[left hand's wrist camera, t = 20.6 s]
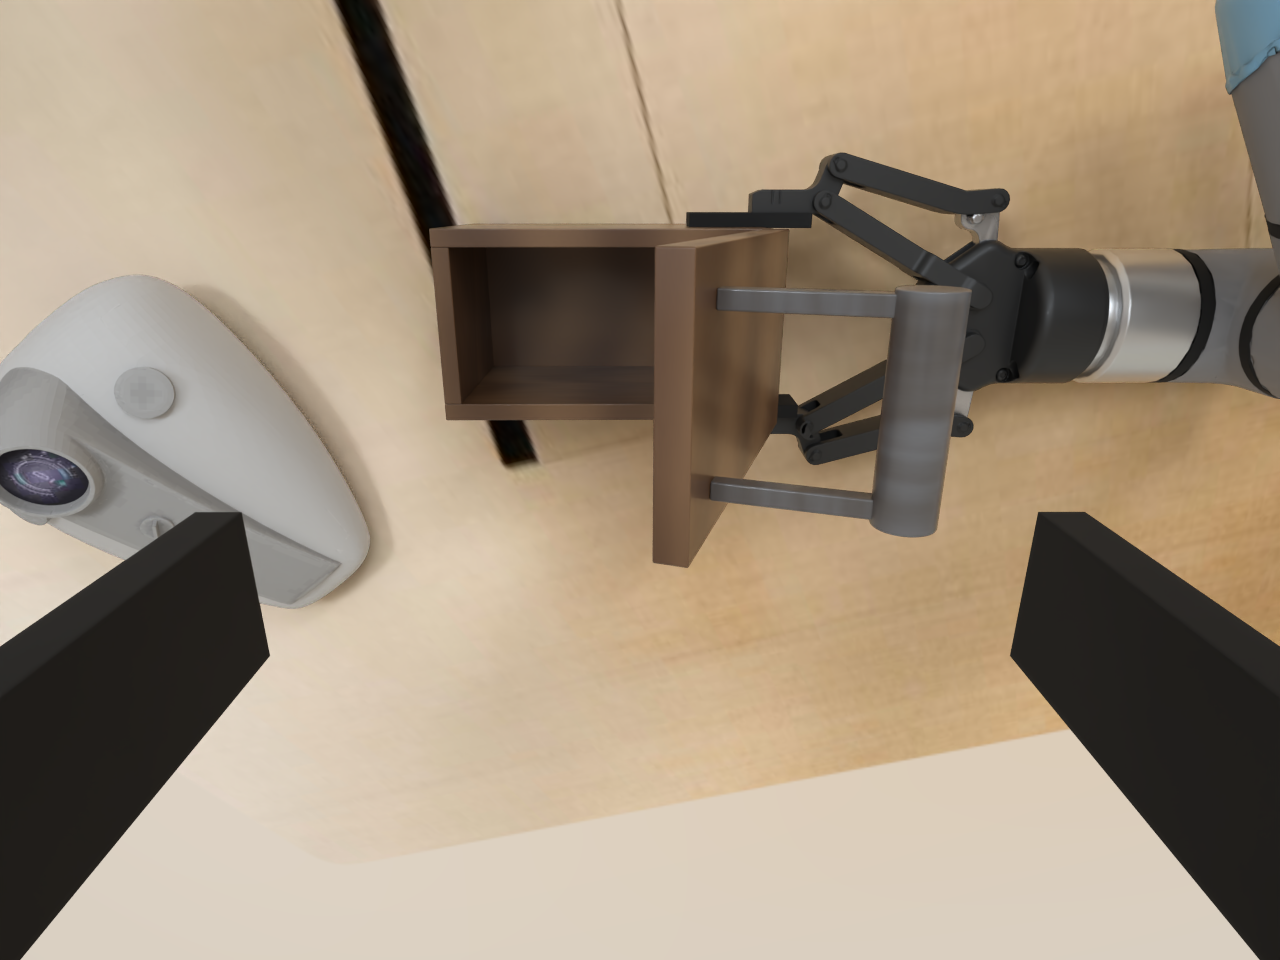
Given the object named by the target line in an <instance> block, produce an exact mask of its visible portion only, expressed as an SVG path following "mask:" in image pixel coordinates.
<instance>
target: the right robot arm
mask: <svg viewBox="0 0 1280 960" xmlns="http://www.w3.org/2000/svg"><path fill="white" fill-rule="evenodd" d="M1215 14H1216V20H1217V26H1218V33H1219V39H1220V45H1221V51H1222V57H1223V63H1224V70H1225V76H1226V85H1225V87H1226V89H1227V92H1228V94H1232V97H1233V101H1234V105H1235V108H1236V112H1237V115H1238V119H1239V122H1240V126H1241V130H1242V133H1243V137H1244V140H1245V144H1246V147H1247V151H1248V155H1249V158H1250V162H1251V165H1252V169H1253V172H1254V176H1255V180H1256V183H1257V187H1258V190H1259V194H1260V197H1261V201H1262V205H1263V208H1264V212H1265V218H1266V222H1267V226H1268V231H1269V235H1270V239H1271V243H1272V247H1273V248H1248V249H1206V250H1182V249H1157V248H1099V249H1092V250H1090V251H1086V250H1084V249H1080V248H1010V247H1008V246H1006V245H1004V244H1003V243H1001V242H1000V241H997V238H998V226H999V214H1000V212H1001V211H1003V210H1004V209H1006V207H1007V206H1008V205H1009V201H1010V196H1009V194H1008V192H1007V191H1006V190H1004V189H1000V188H998V189H978V190H966V191H965V190H962V189H959V188H956V187H953V186H949V185H946V184H943V183H940V182H937V181H933V180H930V179H927V178H924V177H921V176H917V175H914V174H911V173H908V172H904V171H901V170H898V169H895V168H892V167H888V166H885V165H882V164H879V163H876V162H872V161H869V160H866V159H863V158H859V157H856V156H853V155H850V154H847V153H837V154H833V155H829V156H827V157H825V158H824V159H822V161H821V163H820V166H819V171H818V174H817V176H816V179H815V181H814V183H813V184H812V185H811V186H810V187H809V188H807V189H805V190H757V191H755V192H753V193H750V194H749V204H748V212H687V215H686V226H688V227H766V228H811V224H812V214H813V215H815V216H817V217H818V218H820V219H821V220H823V221H825V222H826V223H828V224H829V225H831V226H833V227H834V228H836V229H837V230H839V231H841V232H842V233H844V234H846V235H847V236H849V237H850V238H852V239H854V240H855V241H857V242H858V243H860V244H862V245H863V246H865V247H866V248H868V249H870V250H871V251H873V252H874V253H876V254H878V255H879V256H881V257H883V258H884V259H886V260H887V261H889V262H891V263H892V264H894V265H895V266H897V267H898V268H899V269H901V270H902V271H903V272H905V273H907V274H908V275H910V276H911V277H913V278H915V279H916V280H918V282H917V283H916V285H936V286H952V287H961V288H967V289H970V290H972V295H971V302H970V309H969V315H968V322H967V329H966V336H965V343H964V349H963V356H962V363H961V370H960V376H959V383H958V390H957V397H956V404H955V410H954V417H953V424H952V431H951V437H966V436H968V435H969V434H970V433H971V432H972V430H973V422H972V421H971V420H970V419H969V418H967V417H968V412H969V408H970V404H971V399H972V395H973V391H976V390H978V389H980V388H982V387H984V386H987V385H989V384H993V383H1066V382H1069V381H1071V380H1073V381H1075V382H1078V383H1150V382H1186V383H1217V384H1226V385H1232V386H1237V387H1240V388H1244V389H1247V390H1250V391H1254V392H1257V393H1260V394H1263V395H1266V396H1270V397H1273V398H1277V399H1280V0H1216V4H1215ZM843 184H846V185H849V186H852V187H855V188H859V189H862V190H865V191H868V192H872V193H875V194H878V195H881V196H885V197H888V198H891V199H894V200H898V201H901V202H904V203H907V204H911V205H914V206H917V207H920V208H924V209H927V210H930V211H934V212H938V213H943V214H955V223H956V225H957V226H958V227H959V228H961V229H965V230H968V231H969V232H970V233H971V235H972V239H973V241H972V242H970V243H968V244H967V245H965V246H964V247H962V248H961V249H960V250H958V251H957V252H955V253H954V254H952V255H951V256H949V257H948V258H946V259H945V260H942V259H941V258H939V257H937V256H936V255H934V254H932V253H930V252H927V251H926V250H924V249H922V248H921V247H919V246H918V245H916V244H914V243H913V242H911V241H910V240H908V239H906V238H905V237H903V236H902V235H900V234H898V233H897V232H895V231H894V230H892V229H891V228H889V227H887V226H886V225H884V224H883V223H881V222H879V221H878V220H876V219H875V218H873V217H872V216H870V215H868V214H867V213H865V212H864V211H862V210H860V209H859V208H857V207H856V206H854V205H853V204H851V203H849V202H848V201H846V200H845V199H843V198H841V197H840V196H838V194H839V192H840V189H841V187H842V185H843ZM886 366H887V359H886V360H885V361H883V362H881V363H879V364H877V365H875V366H873V367H871V368H869V369H867V370H865V371H864V372H862V373H860V374H858V375H856V376H854V377H852V378H850V379H848V380H846V381H844V382H843V383H841V384H839V385H837V386H835V387H833V388H831V389H829V390H827V391H825V392H823V393H822V394H820V395H818V396H816V397H814V398H812V399H810V400H808V401H806V402H804V403H802V404H801V405H799V406H798V405H797V403H796V402H795V401H794V400H793V398H792V397H791V396H790V395H789V394H779V396H778V412H777V423H776V425H775V427H774V428H773V430H772V432H771V433H770V434H792V435H795V436H796V438H797V441H798V447H799V449H800V450H801V452H802V454H803V455H804V457H805V458H806V460H807V461H808V462H809V463H810V464H813V465H819V464H823V463H826V462H830V461H834V460H838V459H842V458H846V457H850V456H854V455H858V454H861V453H865V452H869V451H873V450H877V445H878V436H879V427H880V418H881V415H879V416H875V417H871V418H867V419H863V420H859V421H856V422H852V423H848V424H844V425H840V426H836V427H833V428H829V429H825V430H822V429H824V428H826V427H828V426H830V425H832V424H834V423H836V422H838V421H840V420H842V419H844V418H846V417H848V416H850V415H852V414H854V413H855V412H857V411H859V410H861V409H863V408H865V407H867V406H869V405H871V404H873V403H875V402H877V401H879V400H881V399H883V392H884V383H885V374H886Z"/></svg>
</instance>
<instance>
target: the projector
mask: <svg viewBox="0 0 1280 960" xmlns="http://www.w3.org/2000/svg"><path fill="white" fill-rule="evenodd" d="M0 504H2V505H3V506H5V507H7V508H9V509H10V510H11V511H12V512H14V513H15V514H16V515H17V516H19V517H20V518H22V519H24V520H26V521H28V522H30V523H32V524H36V525H44V524H46V523H48V524H50V525H51V526H53V527H55V528H57V529H58V530H60V531H62V532H64V533H66V534H68V535H70V536H72V537H74V538H76V539H78V540H80V541H82V542H84V543H87V544H89V545H91V546H93V547H95V548H97V549H100V550H102V551H104V552H107V553H109V554H111V555H114V556H116V557H119V558H121V559H124V560H126V559H128V558H129V557H131V556H132V555H134V554H135V553H137V552H138V551H139V550H141V549H142V548H144V547H145V546H147V545H148V544H150V543H151V542H153V541H154V540H155V539H157V538H158V537H160V536H161V535H163V534H164V533H166V532H167V531H168V530H170V529H171V528H173V527H174V526H176V525H177V524H179V523H180V522H181V521H183V520H184V519H186V518H187V517H189V516H190V515H192V514H193V513H195V512H242V516H243V521H244V526H245V531H246V536H247V542H248V547H249V552H250V557H251V562H252V567H253V572H254V577H255V582H256V587H257V592H258V598H259V603H261V604H266V605H270V606H275V607H280V608H288V609H296V608H301V607H304V606H307V605H310V604H312V603H314V602H316V601H317V600H319V599H321V598H322V597H324V596H325V595H327V594H328V593H330V592H331V591H332V590H334V589H335V588H336V587H338V586H339V585H340V584H341V583H343V582H344V581H345V580H346V579H347V578H349V577H350V576H351V575H352V574H353V573H354V572H355V571H356V570H357V569H358V568H359V567H360V565H361V564H362V563H363V561H364V560H365V558H366V556H367V553H368V550H369V546H370V534H369V530H368V527H367V524H366V522H365V519H364V517H363V514H362V512H361V510H360V508H359V506H358V504H357V502H356V500H355V498H354V495H353V494H352V492H351V490H350V488H349V486H348V484H347V483H346V481H345V479H344V477H343V475H342V474H341V472H340V470H339V469H338V467H337V465H336V464H335V462H334V460H333V459H332V457H331V455H330V454H329V452H328V450H327V449H326V447H325V446H324V444H323V443H322V441H321V440H320V438H319V437H318V435H317V434H316V432H315V431H314V430H313V428H312V427H311V425H310V424H309V422H308V421H307V420H306V418H305V417H304V416H303V414H302V413H301V412H300V410H299V409H298V408H297V406H296V405H295V404H294V402H293V401H292V400H291V399H290V397H289V396H288V395H287V393H286V392H285V391H284V390H283V389H282V387H281V386H280V385H279V384H278V383H277V381H276V380H275V379H274V378H273V377H272V375H271V374H270V373H269V372H268V371H267V370H266V368H265V367H264V366H263V365H262V364H261V363H260V362H259V361H258V359H257V358H256V357H255V356H254V355H253V354H252V353H251V352H250V351H249V349H248V348H247V347H246V346H245V345H244V344H243V343H242V342H241V341H240V340H239V339H238V338H237V337H236V336H235V335H234V334H233V333H232V332H231V331H230V330H229V329H228V328H227V327H226V326H225V325H224V324H223V323H222V322H221V321H220V320H219V319H218V318H217V317H216V316H215V315H214V314H213V313H211V312H210V311H209V310H208V309H207V308H206V307H205V306H203V305H202V304H201V303H200V302H198V301H197V300H196V299H195V298H193V297H192V296H191V295H189V294H188V293H187V292H185V291H183V290H182V289H180V288H179V287H177V286H175V285H173V284H171V283H169V282H167V281H165V280H162V279H159V278H156V277H152V276H147V275H128V276H121V277H117V278H113V279H109V280H106V281H103V282H100V283H98V284H95V285H93V286H91V287H89V288H87V289H85V290H83V291H82V292H80V293H78V294H77V295H75V296H74V297H72V298H71V299H69V300H68V301H67V302H65V303H64V304H63V305H61V306H60V307H59V308H57V309H56V310H55V311H54V312H53V313H51V314H50V315H49V316H48V317H47V318H45V319H44V320H43V321H42V322H41V323H40V324H39V325H38V326H36V327H35V328H34V329H33V330H32V331H31V332H30V333H29V334H28V335H27V336H26V337H25V339H24V340H23V341H22V342H20V343H19V344H18V345H17V346H16V347H15V348H14V349H13V350H12V352H11V353H9V354H8V355H7V357H6V358H5V359H4V360H3V361H2V362H1V364H0Z"/></svg>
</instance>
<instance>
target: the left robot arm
mask: <svg viewBox="0 0 1280 960" xmlns="http://www.w3.org/2000/svg"><path fill="white" fill-rule="evenodd" d="M269 656H270V654H269V649H268V643H267V638H266V633H265V628H264V623H263V618H262V613H261V608H260V603H259V598H258V592H257V587H256V582H255V577H254V572H253V567H252V562H251V557H250V552H249V547H248V542H247V536H246V531H245V526H244V521H243V516H242V512H195V513H193V514H192V515H190V516H189V517H187V518H186V519H184V520H183V521H181V522H180V523H179V524H177V525H176V526H174V527H173V528H171V529H170V530H168V531H167V532H166V533H164V534H163V535H161V536H160V537H158V538H157V539H155V540H154V541H153V542H151V543H150V544H148V545H147V546H145V547H144V548H142V549H141V550H139V551H138V552H137V553H135V554H134V555H132V556H131V557H129V558H128V559H126V560H125V561H124V562H122V563H121V564H119V565H118V566H116V567H115V568H113V569H112V570H110V571H109V572H108V573H106V574H105V575H103V576H102V577H100V578H99V579H97V580H96V581H95V582H93V583H92V584H90V585H89V586H87V587H86V588H84V589H83V590H81V591H80V592H79V593H77V594H76V595H74V596H73V597H71V598H70V599H68V600H67V601H66V602H64V603H63V604H61V605H60V606H58V607H57V608H55V609H54V610H52V611H51V612H50V613H48V614H47V615H45V616H44V617H42V618H41V619H39V620H38V621H37V622H35V623H34V624H32V625H31V626H29V627H28V628H26V629H25V630H23V631H22V632H21V633H19V634H18V635H16V636H15V637H13V638H12V639H10V640H9V641H8V642H6V643H5V644H3V645H2V646H0V960H20V959H21V958H22V957H23V956H24V955H25V953H26V952H27V951H28V950H29V948H30V947H31V946H32V945H33V944H34V942H35V941H36V940H37V939H38V938H39V936H40V935H41V934H42V933H43V931H44V930H45V929H46V928H47V927H48V925H49V924H50V923H51V922H52V921H53V919H54V918H55V917H56V916H57V914H58V913H59V912H60V911H61V910H62V908H63V907H64V906H65V905H66V903H67V902H68V901H69V900H70V899H71V897H72V896H73V895H74V894H75V893H76V891H77V890H78V889H79V888H80V886H81V885H82V884H83V883H84V882H85V880H86V879H87V878H88V877H89V875H90V874H91V873H92V872H93V871H94V869H95V868H96V867H97V866H98V865H99V863H100V862H101V861H102V860H103V858H104V857H105V856H106V855H107V854H108V852H109V851H110V850H111V849H112V847H113V846H114V845H115V844H116V843H117V841H118V840H119V839H120V838H121V836H122V835H123V834H124V833H125V832H126V830H127V829H128V828H129V827H130V826H131V824H132V823H133V822H134V821H135V819H136V818H137V817H138V816H139V815H140V813H141V812H142V811H143V810H144V808H145V807H146V806H147V805H148V804H149V802H150V801H151V800H152V799H153V797H154V796H155V795H156V794H157V793H158V791H159V790H160V789H161V788H162V787H163V785H164V784H165V783H166V782H167V781H168V779H169V778H170V777H171V776H172V774H173V773H174V772H175V771H176V770H177V768H178V767H179V766H180V765H181V763H182V762H183V761H184V760H185V759H186V757H187V756H188V755H189V754H190V753H191V751H192V750H193V749H194V748H195V746H196V745H197V744H198V743H199V742H200V740H201V739H202V738H203V737H204V735H205V734H206V733H207V732H208V731H209V729H210V728H211V727H212V726H213V725H214V723H215V722H216V721H217V720H218V718H219V717H220V716H221V715H222V714H223V712H224V711H225V710H226V709H227V707H228V706H229V705H230V704H231V703H232V701H233V700H234V699H235V698H236V697H237V695H238V694H239V693H240V692H241V690H242V689H243V688H244V687H245V686H246V684H247V683H248V682H249V681H250V679H251V678H252V677H253V676H254V675H255V673H256V672H257V671H258V670H259V669H260V667H261V666H262V665H263V664H264V662H265V661H266V660H267V659H268V658H269ZM1010 656H1011V658H1012V659H1013V660H1014V661H1015V662H1016V664H1017V665H1018V666H1019V667H1020V669H1021V670H1022V671H1023V672H1024V673H1025V675H1026V676H1027V677H1028V678H1029V679H1030V681H1031V682H1032V683H1033V684H1034V686H1035V687H1036V688H1037V689H1038V690H1039V692H1040V693H1041V694H1042V695H1043V697H1044V698H1045V699H1046V700H1047V701H1048V703H1049V704H1050V705H1051V706H1052V707H1053V709H1054V710H1055V711H1056V712H1057V714H1058V715H1059V716H1060V717H1061V718H1062V720H1063V721H1064V722H1065V723H1066V725H1067V726H1068V727H1069V728H1070V729H1071V731H1072V732H1073V733H1074V734H1075V735H1076V737H1077V738H1078V739H1079V740H1080V742H1081V743H1082V744H1083V745H1084V746H1085V748H1086V749H1087V750H1088V751H1089V753H1090V754H1091V755H1092V756H1093V757H1094V759H1095V760H1096V761H1097V762H1098V763H1099V765H1100V766H1101V767H1102V768H1103V770H1104V771H1105V772H1106V773H1107V774H1108V776H1109V777H1110V778H1111V779H1112V781H1113V782H1114V783H1115V784H1116V785H1117V787H1118V788H1119V789H1120V790H1121V791H1122V793H1123V794H1124V795H1125V796H1126V798H1127V799H1128V800H1129V801H1130V802H1131V804H1132V805H1133V806H1134V807H1135V809H1136V810H1137V811H1138V812H1139V813H1140V815H1141V816H1142V817H1143V818H1144V819H1145V821H1146V822H1147V823H1148V824H1149V825H1150V827H1151V828H1152V829H1153V830H1154V832H1155V833H1156V834H1157V835H1158V837H1159V838H1160V839H1161V840H1162V841H1163V843H1164V844H1165V845H1166V846H1167V847H1168V849H1169V850H1170V851H1171V852H1172V854H1173V855H1174V856H1175V857H1176V858H1177V860H1178V861H1179V862H1180V863H1181V864H1182V866H1183V867H1184V868H1185V869H1186V871H1187V872H1188V873H1189V874H1190V875H1191V877H1192V878H1193V879H1194V880H1195V882H1196V883H1197V884H1198V885H1199V886H1200V888H1201V889H1202V890H1203V891H1204V893H1205V894H1206V895H1207V896H1208V897H1209V899H1210V900H1211V901H1212V902H1213V903H1214V905H1215V906H1216V907H1217V908H1218V910H1219V911H1220V912H1221V913H1222V914H1223V916H1224V917H1225V918H1226V919H1227V920H1228V922H1229V923H1230V924H1231V925H1232V927H1233V928H1234V929H1235V930H1236V931H1237V933H1238V934H1239V935H1240V936H1241V938H1242V939H1243V940H1244V941H1245V942H1246V944H1247V945H1248V946H1249V947H1250V949H1251V950H1252V951H1253V952H1254V953H1255V955H1256V956H1257V957H1258V958H1259V959H1260V960H1280V646H1278V645H1277V644H1275V643H1274V642H1272V641H1271V640H1270V639H1268V638H1267V637H1265V636H1264V635H1262V634H1261V633H1259V632H1258V631H1257V630H1255V629H1254V628H1252V627H1251V626H1249V625H1248V624H1246V623H1245V622H1243V621H1242V620H1241V619H1239V618H1238V617H1236V616H1235V615H1233V614H1232V613H1230V612H1229V611H1228V610H1226V609H1225V608H1223V607H1222V606H1220V605H1219V604H1217V603H1216V602H1214V601H1213V600H1212V599H1210V598H1209V597H1207V596H1206V595H1204V594H1203V593H1201V592H1200V591H1199V590H1197V589H1196V588H1194V587H1193V586H1191V585H1190V584H1188V583H1187V582H1185V581H1184V580H1183V579H1181V578H1180V577H1178V576H1177V575H1175V574H1174V573H1172V572H1171V571H1170V570H1168V569H1167V568H1165V567H1164V566H1162V565H1161V564H1159V563H1158V562H1156V561H1155V560H1154V559H1152V558H1151V557H1149V556H1148V555H1146V554H1145V553H1143V552H1142V551H1141V550H1139V549H1138V548H1136V547H1135V546H1133V545H1132V544H1130V543H1129V542H1127V541H1126V540H1125V539H1123V538H1122V537H1120V536H1119V535H1117V534H1116V533H1114V532H1113V531H1112V530H1110V529H1109V528H1107V527H1106V526H1104V525H1103V524H1101V523H1100V522H1099V521H1097V520H1096V519H1094V518H1093V517H1091V516H1090V515H1088V514H1087V513H1085V512H1038V516H1037V521H1036V526H1035V531H1034V536H1033V542H1032V547H1031V552H1030V557H1029V562H1028V567H1027V572H1026V577H1025V582H1024V587H1023V592H1022V598H1021V603H1020V608H1019V613H1018V618H1017V623H1016V628H1015V633H1014V638H1013V643H1012V649H1011V654H1010Z"/></svg>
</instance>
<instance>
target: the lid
mask: <svg viewBox="0 0 1280 960" xmlns="http://www.w3.org/2000/svg"><path fill="white" fill-rule="evenodd" d="M788 242H789V229H762V230H756V231H750V232H743V233H737V234H730V235H724V236H717V237H711V238H704V239H698V240H691V241H685V242H679V243H672V244H666V245H659V246H656V247H655V299H654V442H653V563H658V564H665V565H671V566H678V567H685V568H688V567H689V565H690V564H691V562H692V561H693V559H694V557H695V556H696V554H697V552H698V551H699V549H700V548H701V546H702V544H703V543H704V541H705V539H706V538H707V536H708V534H709V533H710V531H711V530H712V528H713V526H714V525H715V523H716V521H717V520H718V518H719V517H720V515H721V513H722V512H723V510H724V508H725V507H726V505H727V503H737V504H745V505H753V506H761V507H770V508H778V509H786V510H795V511H803V512H811V513H820V514H828V515H836V516H845V517H853V518H861V519H869V522H870V524H871V525H872V526H873V527H874V528H876V529H878V530H880V531H882V532H884V533H887V534H891V535H895V536H901V537H924V536H928V535H931V534H933V533H934V532H935V531H936V530H937V526H938V519H939V512H940V505H941V498H942V492H943V485H944V478H945V471H946V465H947V458H948V451H949V444H950V437H951V431H952V424H953V417H954V410H955V404H956V397H957V390H958V383H959V376H960V370H961V363H962V356H963V349H964V343H965V336H966V329H967V322H968V315H969V309H970V302H971V295H972V290H970V289H967V288H961V287H952V286H936V285H909V286H899V287H896V289H895V292H890V291H859V290H829V289H798V288H786V273H787V258H788ZM784 314H808V315H831V316H854V317H878V318H892V321H891V330H890V339H889V348H888V357H887V366H886V374H885V383H884V392H883V401H882V410H881V418H880V427H879V436H878V445H877V454H876V463H875V471H874V480H873V489H872V493H864V492H855V491H845V490H836V489H827V488H818V487H809V486H800V485H791V484H782V483H773V482H764V481H755V480H746V479H743V477H744V476H745V474H746V472H747V471H748V469H749V468H750V466H751V464H752V463H753V461H754V459H755V458H756V456H757V455H758V453H759V451H760V450H761V448H762V446H763V445H764V443H765V441H766V440H767V438H768V437H769V435H770V433H771V432H772V430H773V428H774V427H775V425H776V423H777V412H778V396H779V381H780V366H781V350H782V335H783V319H784Z"/></svg>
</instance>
